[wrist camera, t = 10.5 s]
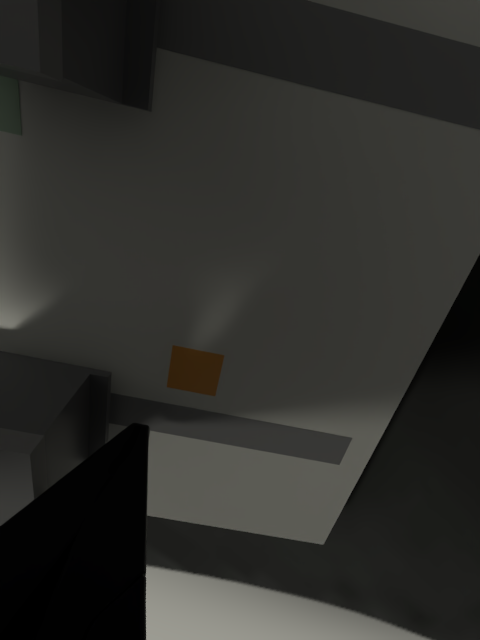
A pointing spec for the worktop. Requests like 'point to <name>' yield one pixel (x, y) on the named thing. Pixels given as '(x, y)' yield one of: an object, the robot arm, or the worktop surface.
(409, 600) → the worktop surface
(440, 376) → the worktop surface
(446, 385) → the worktop surface
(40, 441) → the breaker
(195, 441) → the breaker board
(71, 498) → the robot arm
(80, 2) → the block
